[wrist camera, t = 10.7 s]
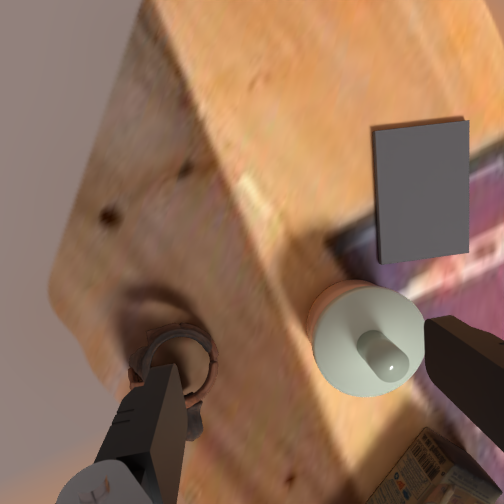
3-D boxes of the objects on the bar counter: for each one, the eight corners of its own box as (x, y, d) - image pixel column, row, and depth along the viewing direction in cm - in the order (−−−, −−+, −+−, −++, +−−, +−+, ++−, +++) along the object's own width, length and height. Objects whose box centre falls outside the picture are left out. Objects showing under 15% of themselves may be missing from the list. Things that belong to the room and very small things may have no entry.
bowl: (300, 283, 38) (312, 298, 33) (388, 271, 38) (413, 283, 33) (308, 366, 40) (321, 392, 34) (391, 353, 40) (416, 377, 35)
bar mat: (372, 131, 35) (375, 131, 35) (465, 121, 36) (469, 120, 35) (379, 263, 38) (381, 264, 37) (465, 251, 39) (468, 252, 38)
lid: (306, 294, 32) (322, 314, 27) (418, 277, 33) (454, 294, 28) (317, 398, 35) (333, 434, 29) (421, 380, 35) (455, 413, 30)
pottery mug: (110, 347, 38) (112, 348, 30) (188, 310, 42) (206, 302, 35) (156, 449, 37) (169, 475, 30) (229, 400, 41) (257, 412, 34)
